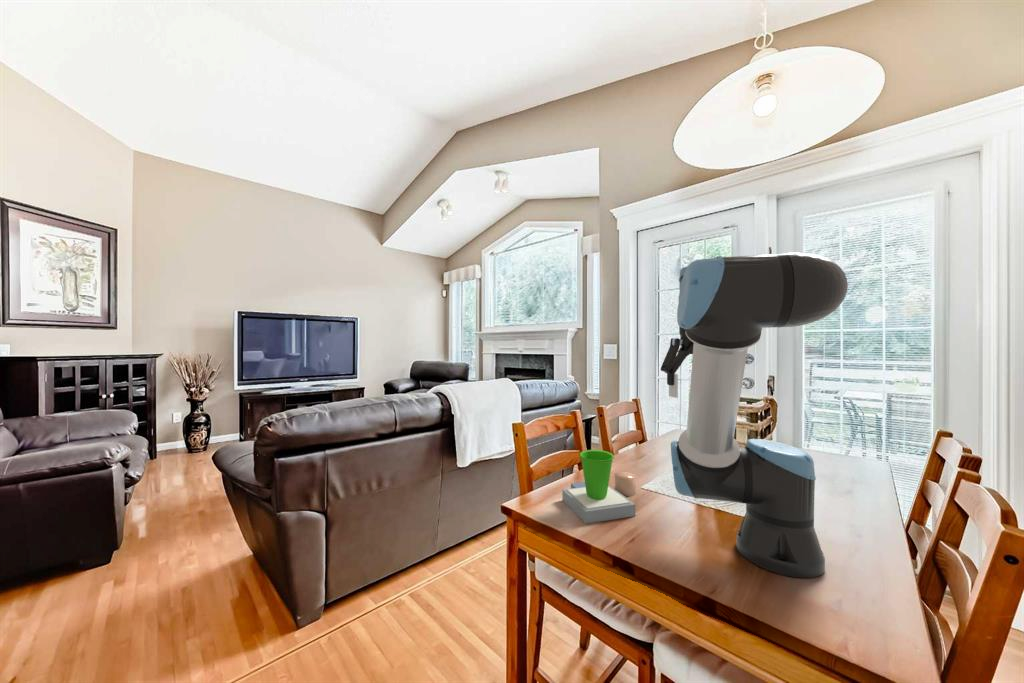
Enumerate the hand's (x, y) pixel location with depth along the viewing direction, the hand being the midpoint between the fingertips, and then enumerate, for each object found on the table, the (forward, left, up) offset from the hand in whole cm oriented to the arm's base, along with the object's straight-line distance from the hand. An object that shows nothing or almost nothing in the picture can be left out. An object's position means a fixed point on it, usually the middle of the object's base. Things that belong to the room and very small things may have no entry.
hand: (693, 395), depth 110 cm
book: (+11, +27, -29) cm, 41 cm away
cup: (+1, +30, -26) cm, 40 cm away
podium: (+1, +30, -29) cm, 42 cm away
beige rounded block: (+8, +17, -29) cm, 34 cm away
